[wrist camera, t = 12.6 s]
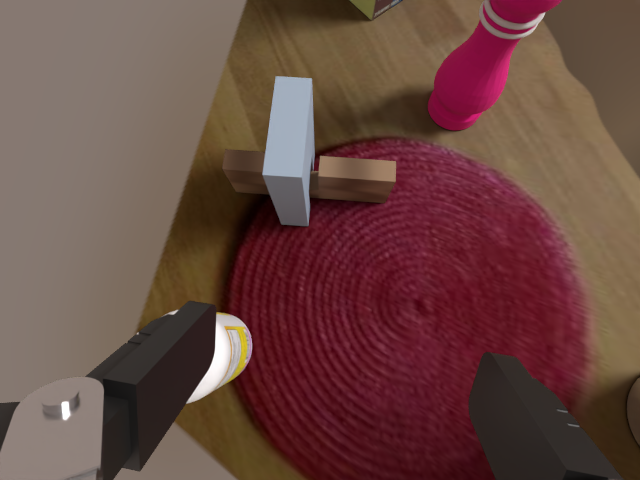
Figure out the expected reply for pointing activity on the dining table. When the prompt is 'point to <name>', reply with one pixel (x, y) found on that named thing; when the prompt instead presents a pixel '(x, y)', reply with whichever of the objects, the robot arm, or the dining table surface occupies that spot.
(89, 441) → the robot arm
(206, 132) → the dining table surface
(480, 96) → the pepper mill
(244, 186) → the wooden notched block
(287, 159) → the pale blue notched block
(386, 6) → the protein box
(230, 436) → the dining table surface
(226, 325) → the supplement bottle
